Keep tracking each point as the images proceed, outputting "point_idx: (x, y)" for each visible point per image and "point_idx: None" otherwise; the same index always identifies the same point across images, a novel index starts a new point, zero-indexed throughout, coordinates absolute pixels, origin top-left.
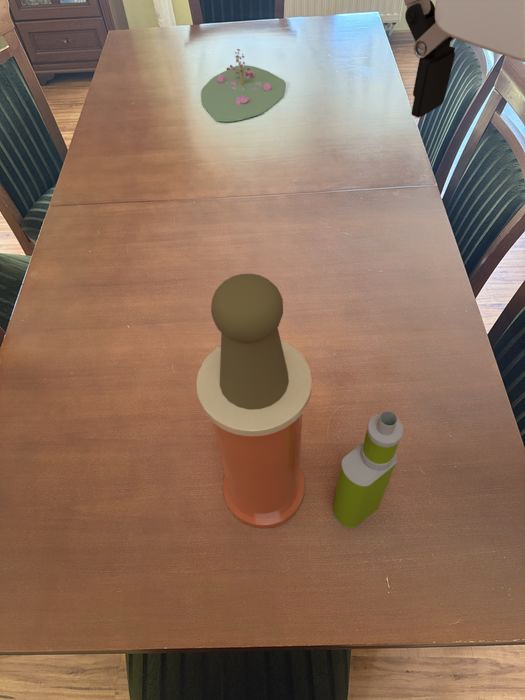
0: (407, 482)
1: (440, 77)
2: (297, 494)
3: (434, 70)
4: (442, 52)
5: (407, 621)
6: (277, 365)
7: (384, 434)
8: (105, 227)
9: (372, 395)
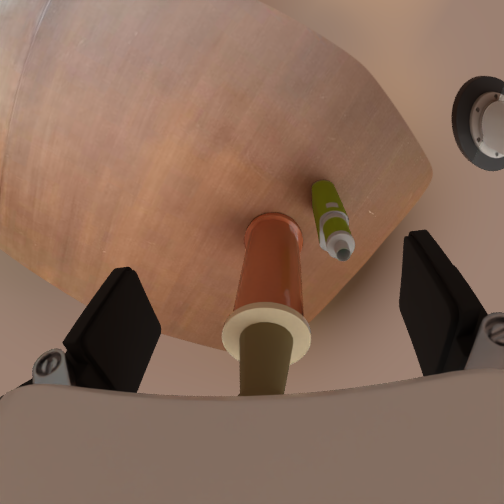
0: (332, 154)
1: (122, 342)
2: (293, 228)
3: (128, 383)
4: (99, 385)
5: (392, 218)
6: (286, 362)
7: (345, 252)
8: (17, 226)
9: (253, 123)
